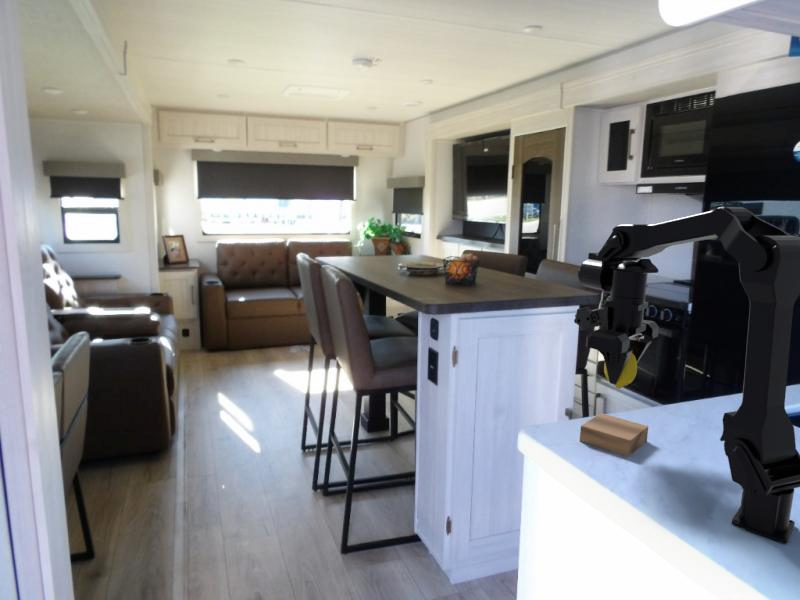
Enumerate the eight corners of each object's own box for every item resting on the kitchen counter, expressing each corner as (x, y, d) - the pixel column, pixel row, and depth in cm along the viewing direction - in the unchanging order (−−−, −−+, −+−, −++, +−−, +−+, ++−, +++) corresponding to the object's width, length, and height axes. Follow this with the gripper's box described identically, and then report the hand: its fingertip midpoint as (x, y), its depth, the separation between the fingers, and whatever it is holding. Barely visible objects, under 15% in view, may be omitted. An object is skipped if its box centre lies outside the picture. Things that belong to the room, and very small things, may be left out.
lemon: (615, 394, 98) (619, 350, 97) (596, 384, 103) (600, 343, 102) (641, 392, 100) (646, 349, 98) (621, 382, 105) (625, 341, 104)
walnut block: (628, 456, 97) (630, 440, 97) (579, 440, 103) (580, 425, 103) (646, 441, 104) (648, 426, 103) (599, 427, 110) (601, 413, 109)
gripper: (604, 285, 111) (598, 361, 113) (560, 295, 97) (554, 381, 100) (663, 292, 103) (654, 373, 106) (624, 304, 90) (615, 396, 92)
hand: (619, 380), depth 101 cm, fingers closed on lemon, 5 cm apart
